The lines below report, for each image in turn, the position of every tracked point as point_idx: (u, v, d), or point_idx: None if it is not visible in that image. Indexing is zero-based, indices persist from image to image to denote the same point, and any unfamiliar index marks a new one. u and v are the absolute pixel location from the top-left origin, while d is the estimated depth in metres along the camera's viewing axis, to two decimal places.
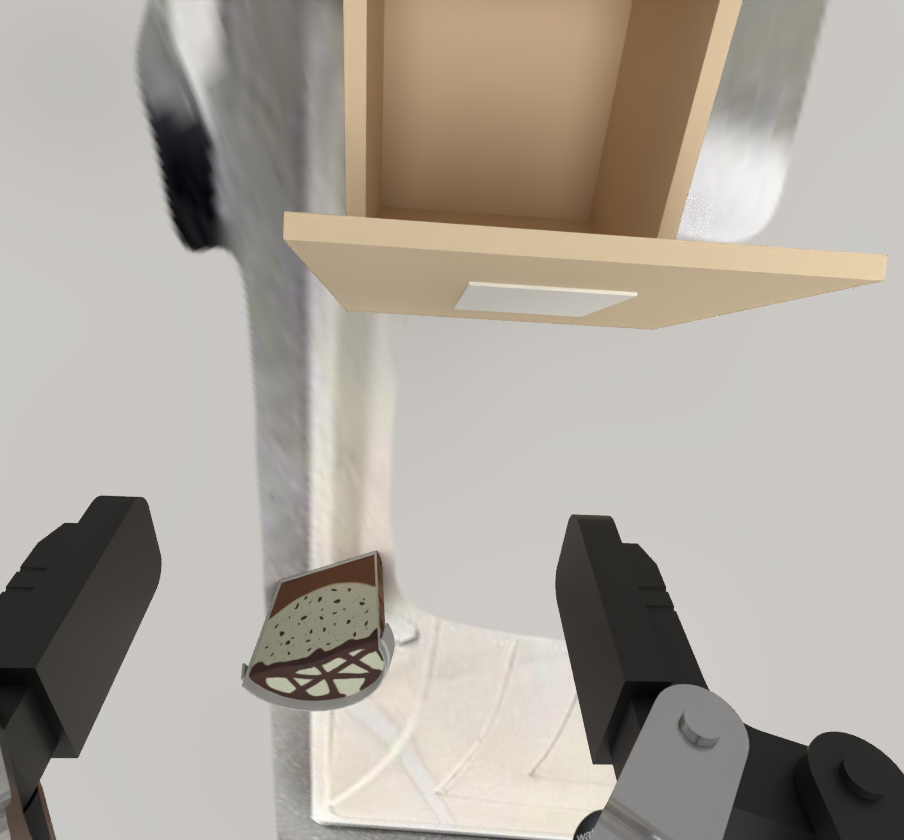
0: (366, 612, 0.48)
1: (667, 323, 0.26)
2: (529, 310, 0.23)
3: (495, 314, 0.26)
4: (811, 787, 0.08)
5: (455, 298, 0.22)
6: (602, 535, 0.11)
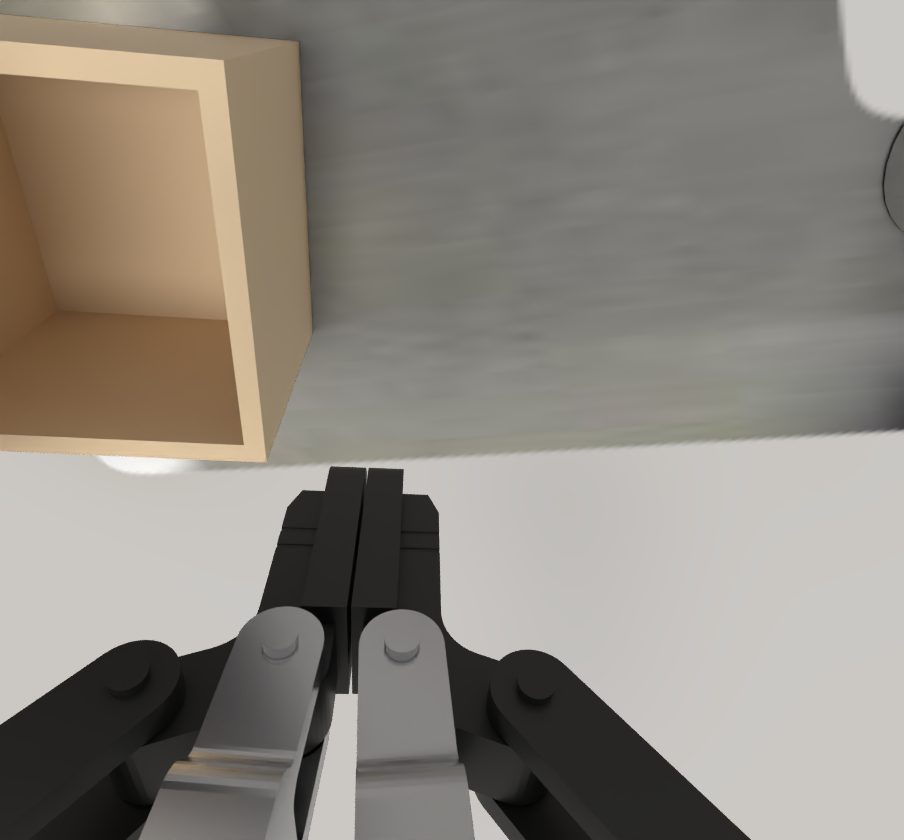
0: None
1: None
2: None
3: None
4: (505, 723, 0.08)
5: None
6: (386, 485, 0.12)
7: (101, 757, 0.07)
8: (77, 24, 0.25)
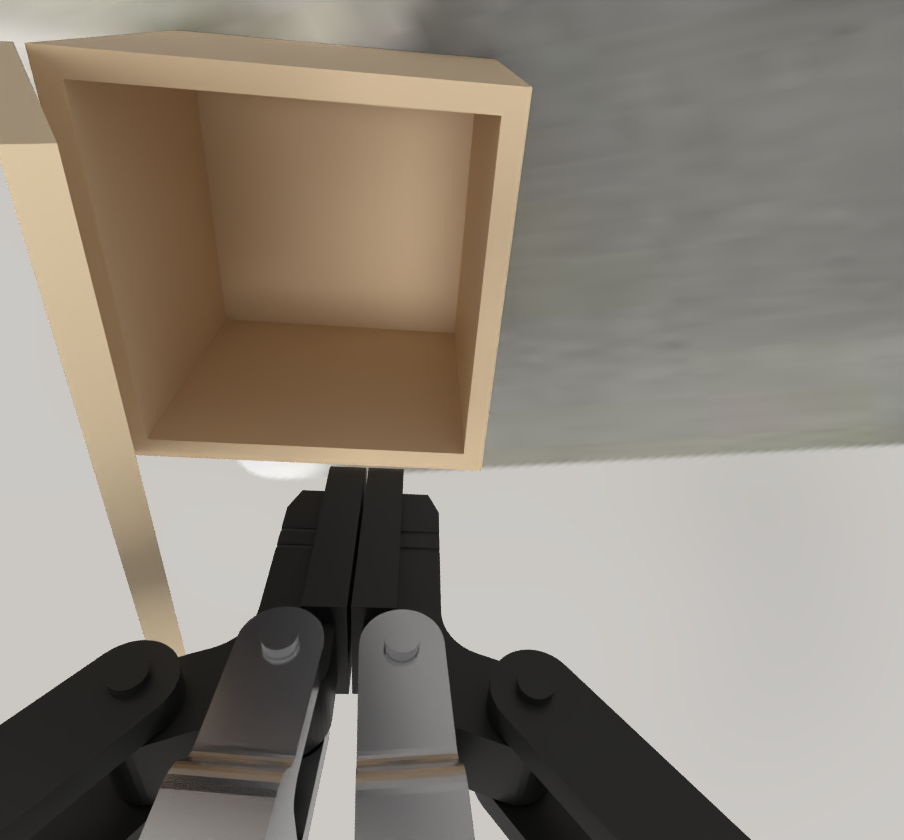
0: None
1: None
2: None
3: None
4: (505, 724, 0.08)
5: None
6: (386, 485, 0.12)
7: (101, 757, 0.07)
8: (299, 44, 0.25)
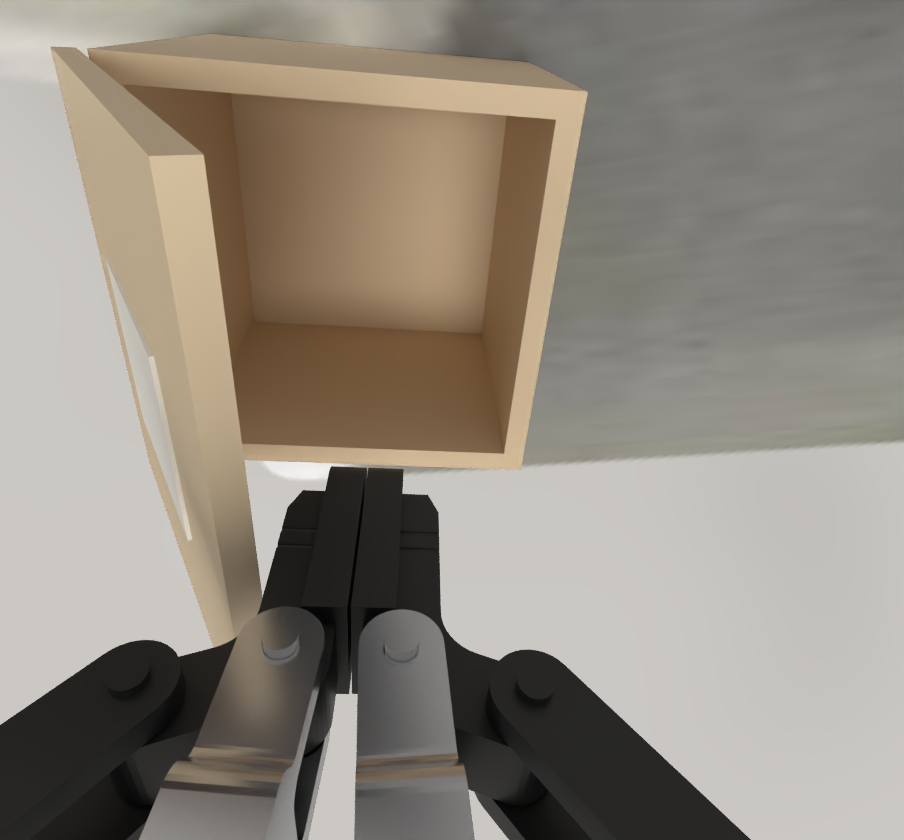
0: None
1: (161, 492, 0.22)
2: (133, 367, 0.17)
3: (114, 298, 0.19)
4: (504, 724, 0.08)
5: (122, 284, 0.15)
6: (386, 485, 0.12)
7: (101, 757, 0.07)
8: (336, 48, 0.26)
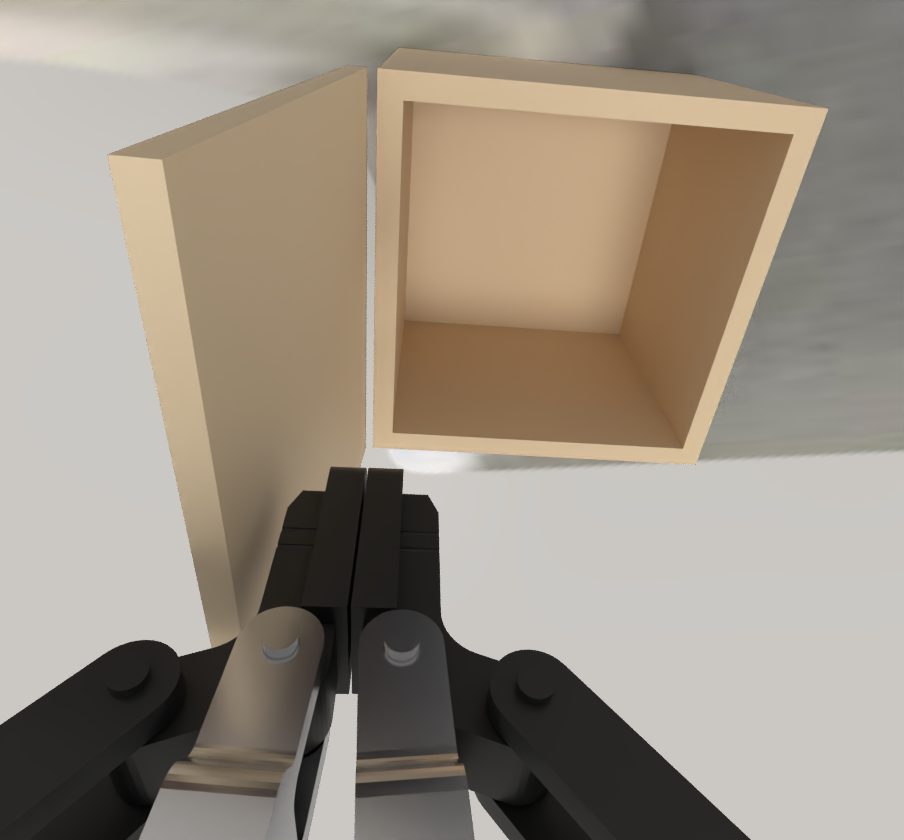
0: None
1: None
2: None
3: None
4: (504, 724, 0.08)
5: None
6: (386, 485, 0.12)
7: (102, 757, 0.07)
8: (526, 62, 0.27)
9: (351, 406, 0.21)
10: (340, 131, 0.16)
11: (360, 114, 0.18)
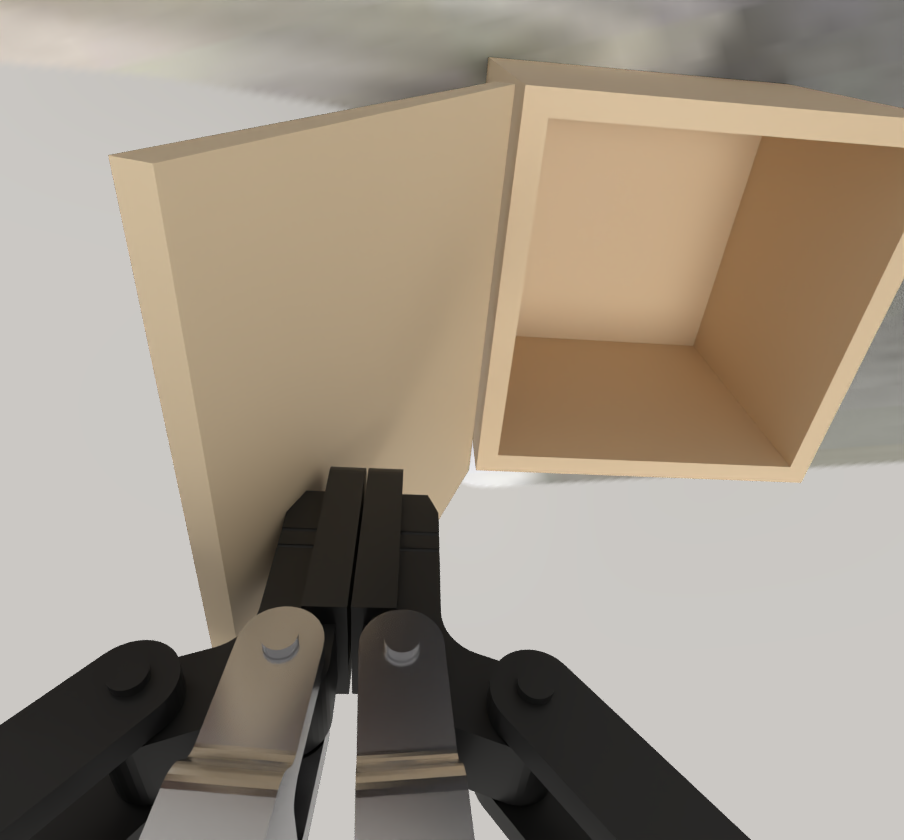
0: None
1: None
2: None
3: None
4: (504, 724, 0.08)
5: None
6: (386, 485, 0.12)
7: (101, 757, 0.07)
8: (625, 72, 0.26)
9: (448, 427, 0.21)
10: (461, 147, 0.15)
11: (498, 131, 0.17)
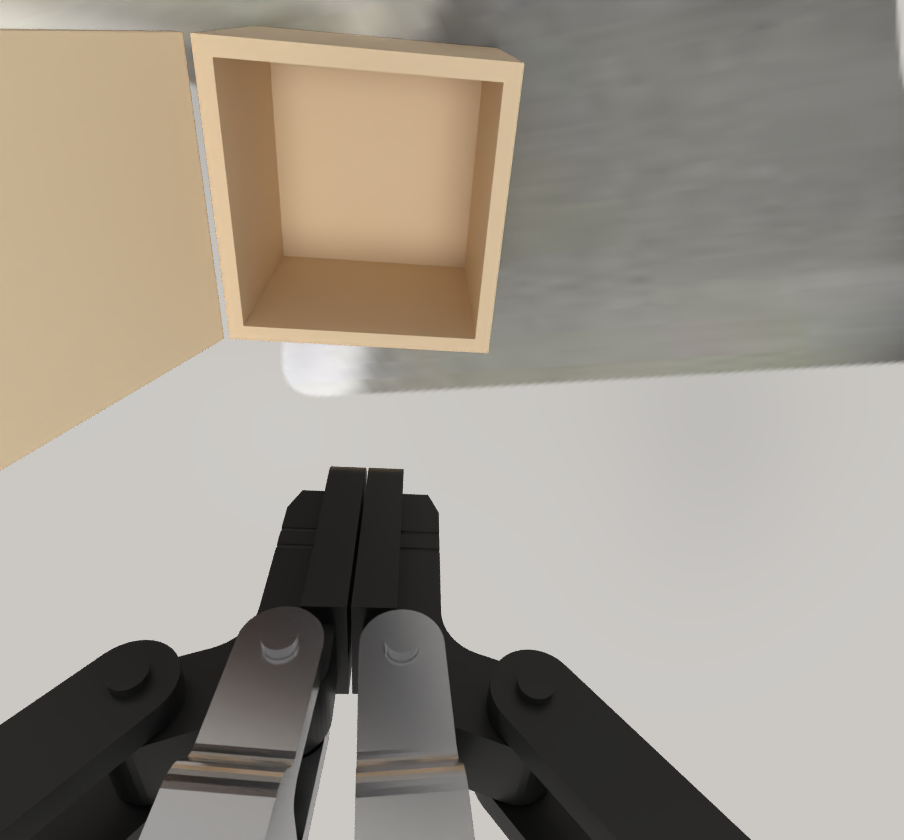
0: None
1: None
2: None
3: None
4: (504, 724, 0.08)
5: None
6: (386, 485, 0.12)
7: (101, 757, 0.07)
8: (351, 36, 0.34)
9: (168, 286, 0.29)
10: (107, 67, 0.23)
11: (166, 64, 0.25)
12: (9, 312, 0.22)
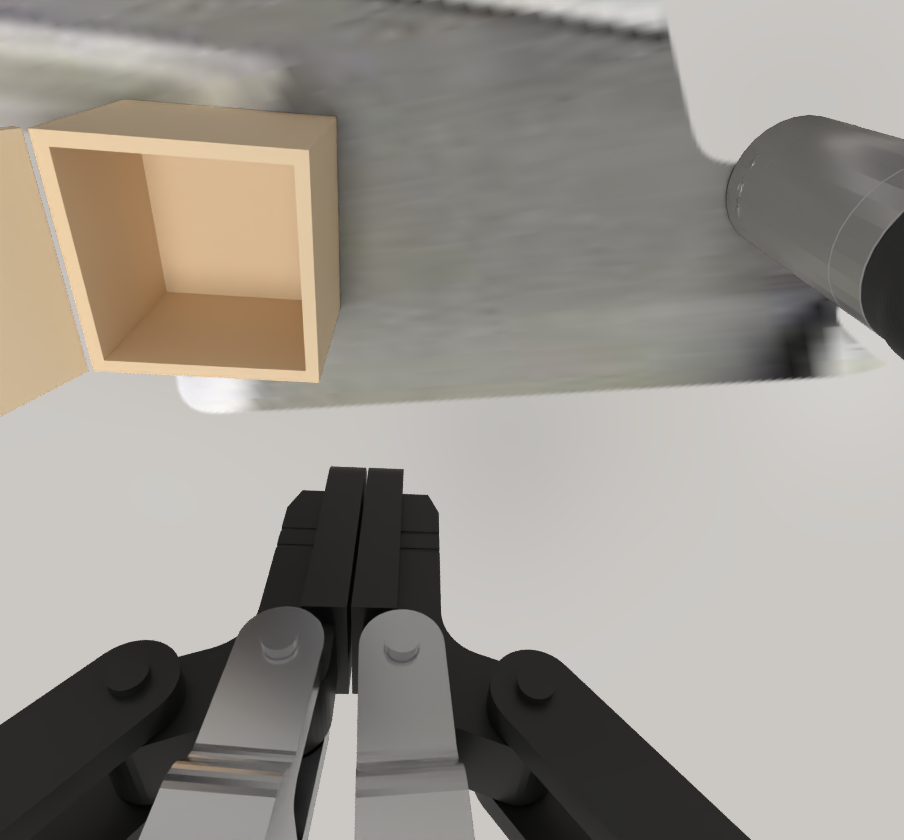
0: None
1: None
2: None
3: None
4: (504, 723, 0.08)
5: None
6: (386, 485, 0.12)
7: (102, 757, 0.07)
8: (201, 110, 0.40)
9: (23, 331, 0.34)
10: None
11: (6, 155, 0.31)
12: None
